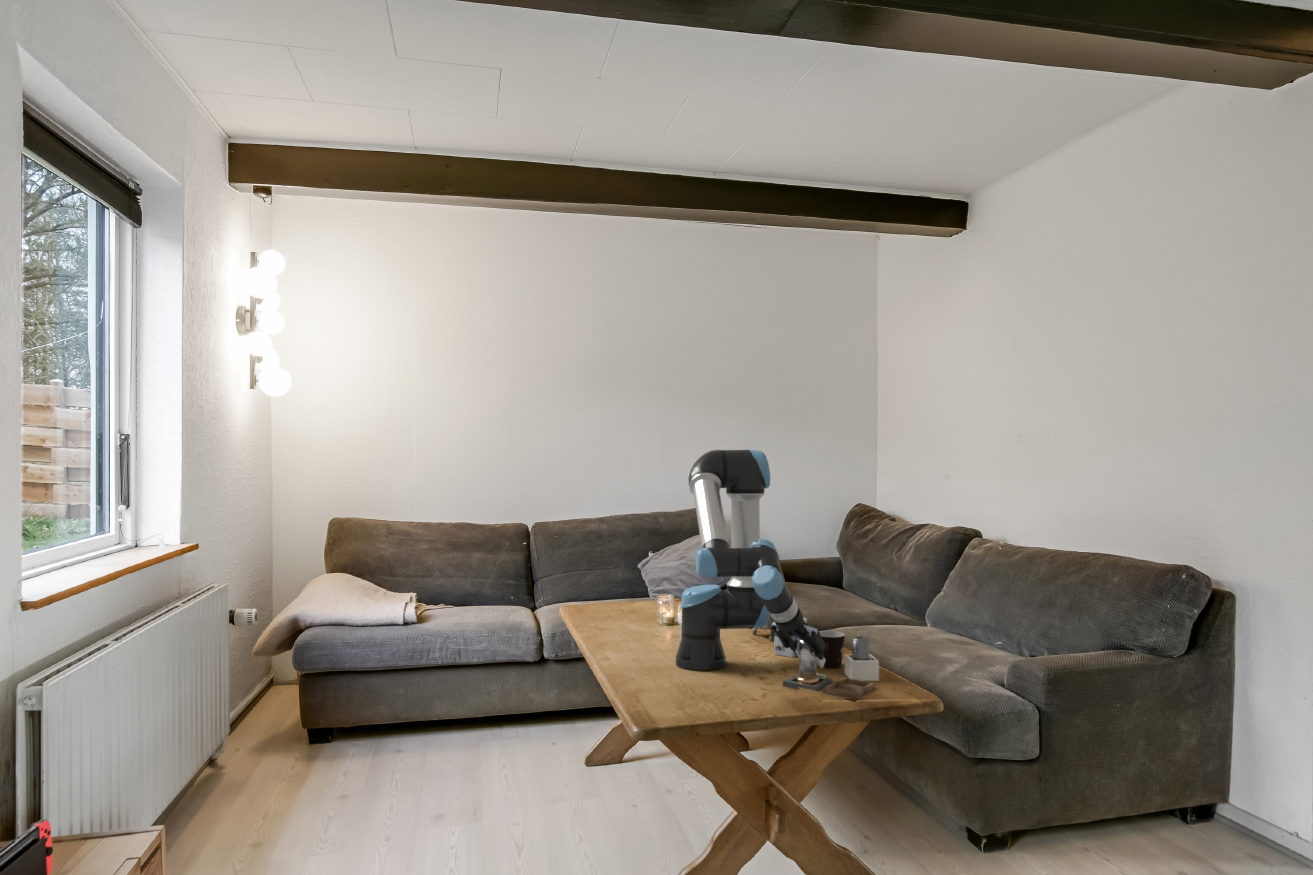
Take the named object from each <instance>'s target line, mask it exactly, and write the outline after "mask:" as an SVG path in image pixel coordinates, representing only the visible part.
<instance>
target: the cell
mask: <svg viewBox="0 0 1313 875" xmlns="http://www.w3.org/2000/svg"><path fill="white" fill-rule="evenodd" d="M812 654H813V651H812V650H811V649H810V648H809V647H808V646H807V645H806V643H805V642H804V641H803V640H800V639H799V657H798V660H799V661H798V662H799V663H798V664H799V669H798V671H799V672H798V674H799V677H800V678H802V679H807V680H812V679H816V673H817V662H816V660H815V658H814V656H813V655H812Z"/></svg>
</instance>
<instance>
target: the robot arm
mask: <svg viewBox="0 0 1313 875" xmlns="http://www.w3.org/2000/svg"><path fill="white" fill-rule="evenodd" d="M688 486H689V491H690V493H691V494H692V496H693V497H694V498H693V500H694V505H695V506H694V507H695V512H696V518H697V525H698V532H699V539H700V546H701V548H698V549H697V550H696V553H695V570H696V574H697V575H698V576H699V577H704V578H723V577H724V578H726V577H727V578H729V577H731V578H730V579H729V581H727V582H726V589H721V587H720V585H718V584H701V585H696V586H695V585H694V586H691V587H689V588H686V589H685V590H684V591H682V594H681V604H680V608H681V639H680V641H679V646H678V648H677V652H676V655H675V665H676V666H677V667H679V668H681V669H684V670H690V671H713V670H719V669H721V668H724V667H726V665H727V657H726V653H725V651H724V648H723V644H722V641H721V630H740V629H741V630H742V629H743V630H744V629H748V630H755V629H756V628H758V629H759V628H763V627H764V626H765V625H766V624H767V622H768V620H769V616H770V615H771V617H772V619H773V623H772V626H771V629H772V630H773V631H774V632H775V633H776V635H777V636H778V638H779V639H780V641H781V643H782V644H783V646H784V647H785V648H788V647H789V648H790V649H791V650H793V651H794V653H795V655H797V657H798V658H799V643H798V641H799V640H798V641H797V638H796V636H797V637H798V638H799V639H800V640H803V641H804V642H805V643H806V645H807V646H808V647H809V648H810V649H811V650H812V651H813V654H812V655H813V656H814V658H815V660H816V664H817V665H818V667H819V668H820V669H824V668H823V666H824V663H825V661H826V660H825V658H824V651H825V649H826V644H825V642H824V641H823V639H822V637H821V635H820V633H819V626H817V625H814V626H813V627H812V626H810V625H808V622H807V623H806V622H805V621H804V619H803V618H804V615H803V613H802V611H801V609H800V607H799V605H798V604H797V601H796V600H795V598H794V596H793V595H792V592H791V591H790V590H789V588H788V586H787V583H786V581H785V577H784V572H783V570H782V566H781V562H780V557H779V553H778V551H777V548H776V546H775V544H774V543H773V542H772V541H770V540H768V539H763V538H760V528H761V526H760V522H761V520H760V500H761V498H762V497H764V495H765V490H766V489H769V487H770V486H771V471H770V466H769V461H768V458H767V456H766V454H765V453H764V452H763V451H762V450H756V449H724V450H723V449H714V450H710V451H707V452H705V453H703V454H702V455H701V456H700V457H698V459H697V460H696V461H695V462H694V463H693V465H692V467H691V468H690V471H689V476H688ZM721 489H725V493H726V496H727V497H728V498H729V499H730V501H731V502H730V503H731V504H730V507H731V509H730V510H731V512H730V513H731V514H730V515H731V517H730V518H731V523H730V524H731V529H730V530H731V535H730V536H731V540H730V541H731V545H730V541H729V537H728V531H727V526H726V520H725V515H724V509H723V508H724V507H723V504H722V500H721V499H722V498H721V493H720V491H721ZM797 643H798V645H797Z"/></svg>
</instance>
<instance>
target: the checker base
mask: <svg viewBox="0 0 1313 875" xmlns="http://www.w3.org/2000/svg"><path fill="white" fill-rule="evenodd" d="M798 675H799V673H797V674H794V675H792V676H790V677H788V678H786V679H783V680H782V687H786V688H790V689H795V690H796V689H797V690H800V688H801V689H806V690H811V691H815V692H816V691H819V690H821V689H823V688H824V687H826V686H828V685H830V684H832V683H834V682H833V681H834V680H833V678H828V677H827V675H826V674H824V673H823V674H821V673H817V672H816V676H818V677H819V683H817V684H815V685H810V684H805V683H800V682H797V676H798Z"/></svg>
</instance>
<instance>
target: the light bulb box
mask: <svg viewBox="0 0 1313 875" xmlns="http://www.w3.org/2000/svg"><path fill="white" fill-rule="evenodd" d="M803 619H804V621H805V622H806V623H807V624H808V618H806V617H803ZM773 638H774V639H773V642H774V647H773V648H774V652H773V654H774V655H775V656H783V657H788V658H794V657H796V656H797V655H795V653H794V651H793V650H791V649H790V648H789V647H788V648H785V647H784V646H783V644H782V643H781V641H780V639H779V638H778V636H777V635H776V633H775V632H774V636H773ZM796 638H797V641H798V640H799V638H798V637H797V636H796ZM798 643H799V641H798ZM798 643H797V645H798ZM797 657H798V656H797Z"/></svg>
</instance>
